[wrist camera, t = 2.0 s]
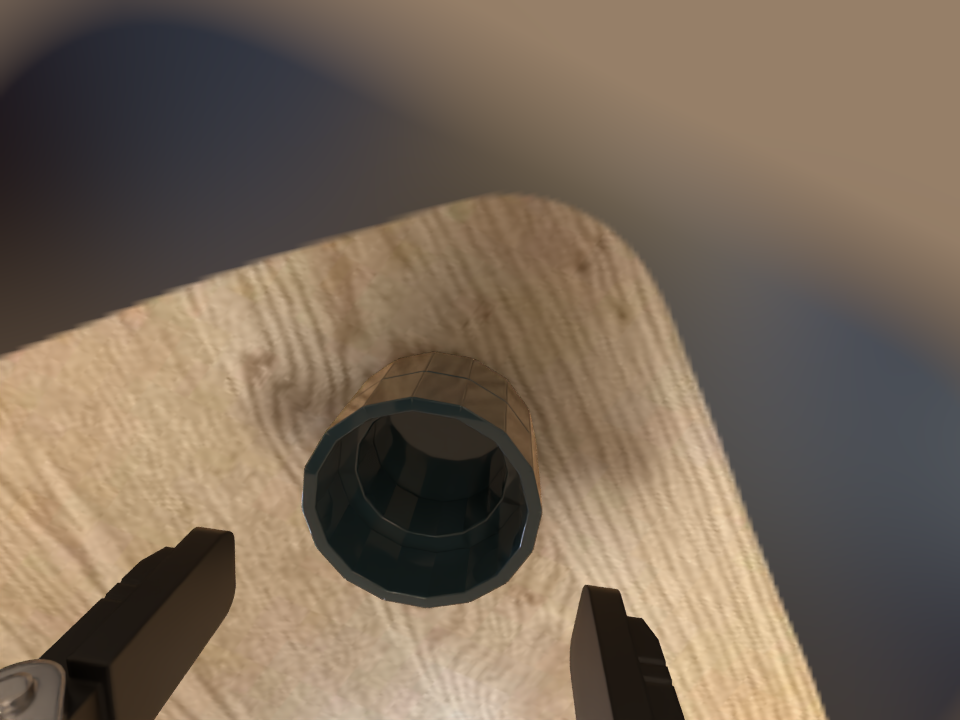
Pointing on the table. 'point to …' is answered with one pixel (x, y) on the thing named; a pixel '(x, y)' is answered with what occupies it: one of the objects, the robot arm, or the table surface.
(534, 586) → the table surface
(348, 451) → the cup
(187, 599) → the robot arm
